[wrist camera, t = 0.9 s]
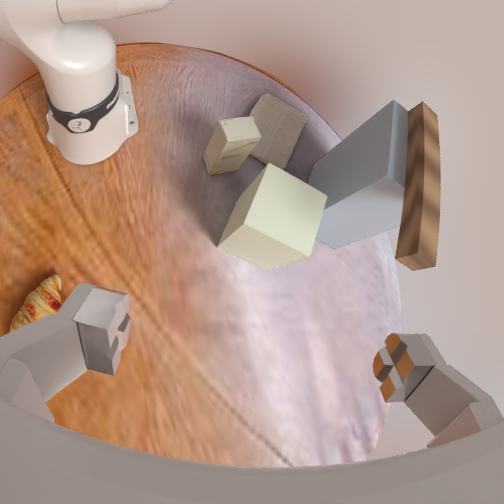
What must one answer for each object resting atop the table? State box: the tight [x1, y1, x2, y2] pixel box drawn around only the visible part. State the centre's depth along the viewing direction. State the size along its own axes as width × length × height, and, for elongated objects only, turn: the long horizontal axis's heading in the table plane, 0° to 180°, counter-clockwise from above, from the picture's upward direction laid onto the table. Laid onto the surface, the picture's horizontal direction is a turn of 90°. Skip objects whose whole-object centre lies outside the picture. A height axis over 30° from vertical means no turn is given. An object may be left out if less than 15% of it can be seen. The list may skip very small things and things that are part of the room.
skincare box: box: [203, 116, 261, 175], centre depth 49 cm, size 6×4×12 cm
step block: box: [217, 163, 327, 271], centre depth 47 cm, size 10×10×15 cm
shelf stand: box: [308, 100, 408, 249], centre depth 49 cm, size 16×10×26 cm, turn 159°
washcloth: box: [248, 93, 307, 170], centre depth 59 cm, size 12×18×3 cm, turn 158°
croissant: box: [9, 274, 62, 333], centre depth 36 cm, size 21×10×8 cm, turn 162°
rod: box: [395, 101, 440, 271], centre depth 33 cm, size 26×4×4 cm, turn 159°
